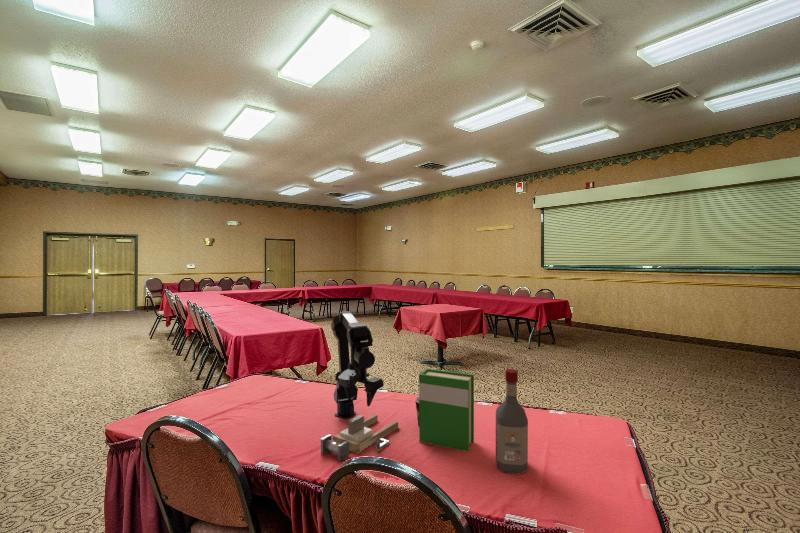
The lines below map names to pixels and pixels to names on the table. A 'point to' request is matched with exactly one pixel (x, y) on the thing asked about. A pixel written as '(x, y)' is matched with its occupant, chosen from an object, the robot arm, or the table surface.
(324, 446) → the winch
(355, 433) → the two-tone stepped block
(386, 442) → the crank handle
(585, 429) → the table surface
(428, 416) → the hardback book
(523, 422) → the liquor
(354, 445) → the bay
